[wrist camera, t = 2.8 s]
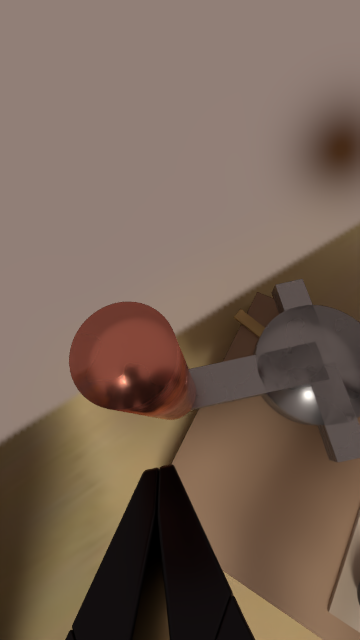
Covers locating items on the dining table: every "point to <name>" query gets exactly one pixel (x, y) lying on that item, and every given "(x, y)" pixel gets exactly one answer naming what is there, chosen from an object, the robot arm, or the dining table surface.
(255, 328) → the plinth
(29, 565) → the dining table surface
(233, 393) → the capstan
